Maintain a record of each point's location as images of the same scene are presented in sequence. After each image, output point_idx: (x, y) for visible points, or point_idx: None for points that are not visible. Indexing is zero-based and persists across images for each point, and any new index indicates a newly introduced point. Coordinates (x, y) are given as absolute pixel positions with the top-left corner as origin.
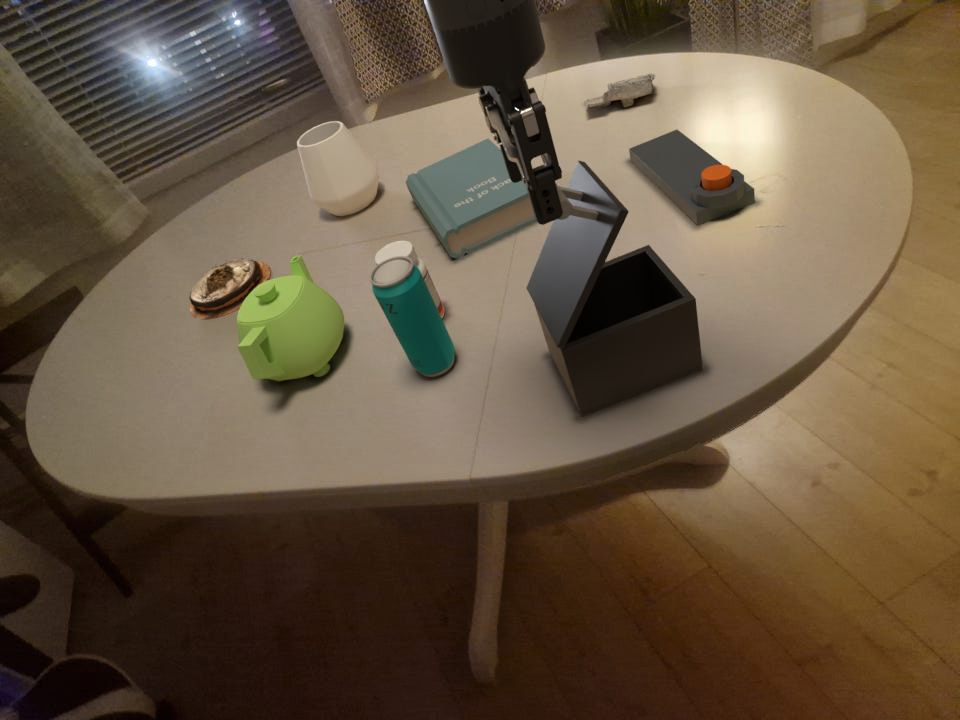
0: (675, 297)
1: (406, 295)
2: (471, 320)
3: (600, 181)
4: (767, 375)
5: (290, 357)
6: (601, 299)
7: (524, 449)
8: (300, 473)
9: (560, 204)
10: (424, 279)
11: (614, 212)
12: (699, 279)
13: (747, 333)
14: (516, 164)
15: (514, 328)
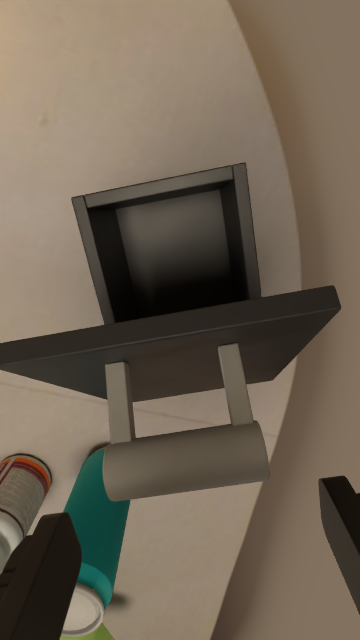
0: (196, 188)
1: (109, 572)
2: (45, 425)
3: (140, 327)
4: (264, 104)
5: (93, 631)
6: (120, 285)
7: (266, 386)
8: (217, 574)
9: (357, 499)
10: (3, 508)
11: (311, 320)
12: (54, 127)
13: (184, 101)
14: (60, 590)
15: None
